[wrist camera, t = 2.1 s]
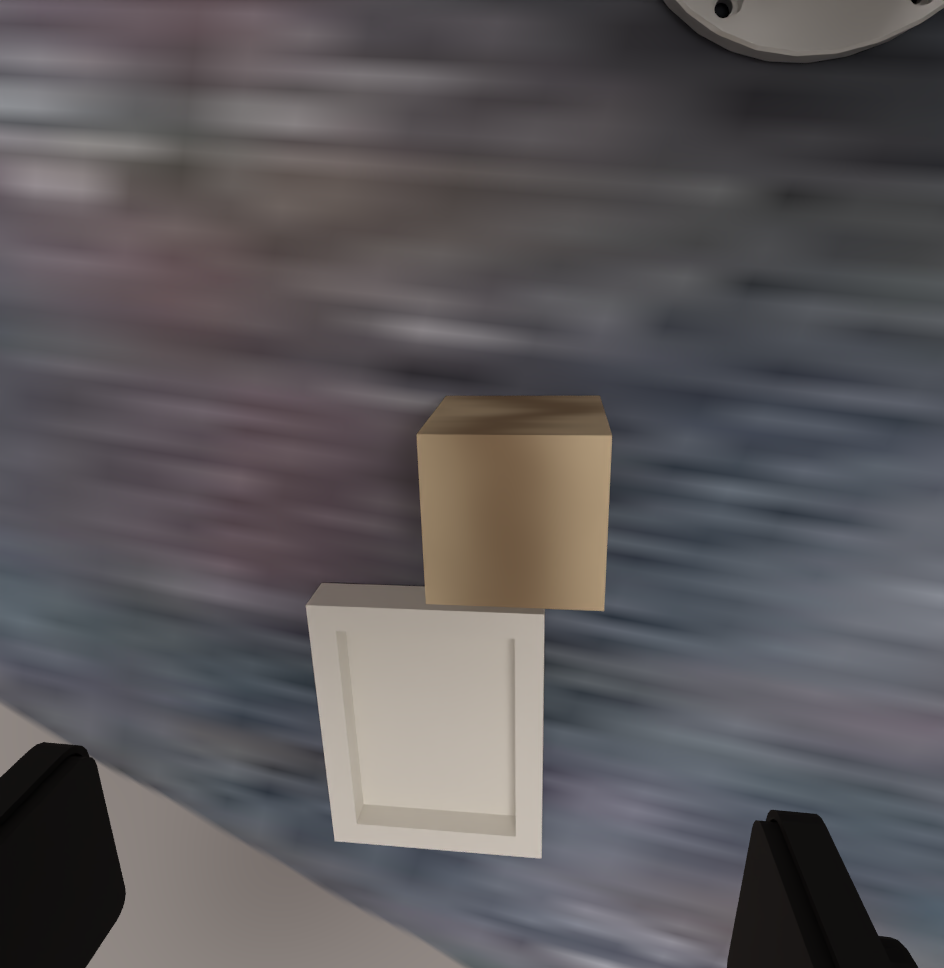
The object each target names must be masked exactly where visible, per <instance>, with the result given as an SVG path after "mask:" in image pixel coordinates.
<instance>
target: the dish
mask: <svg viewBox="0 0 944 968" xmlns="http://www.w3.org/2000/svg"><path fill="white" fill-rule="evenodd" d="M306 611H307V619H308V627H309V635H310V644H311V652H312V660H313V668H314V676H315V684H316V692H317V700H318V708H319V717H320V725H321V733H322V741H323V749H324V757H325V765H326V773H327V781H328V790H329V798H330V806H331V814H332V822H333V830H334V838H335V841H340V842H352V843H363V844H375V845H387V846H399V847H411V848H423V849H435V850H447V851H458V852H470V853H482V854H494V855H506V856H518V857H530V858H541V855H542V801H543V721H544V642H545V609H540V608H514V607H488V606H462V605H436V604H426V597H425V586H398V585H369V584H341V583H321V584H320V586H319V587H318V589H317V590H316V591H315V593H314V594H313V596H312V597H311V599H310V600H309V601H308V603H307V604H306Z"/></svg>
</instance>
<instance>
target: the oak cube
mask: <svg viewBox="0 0 944 968" xmlns="http://www.w3.org/2000/svg"><path fill="white" fill-rule="evenodd" d="M416 435H417V453H418V471H419V489H420V507H421V525H422V543H423V561H424V579H425V597H426V604H436V605H462V606H488V607H514V608H540V609H567V610H593V611H604V601H605V579H606V557H607V535H608V514H609V492H610V470H611V449H612V434H611V430H610V427H609V424H608V421H607V418H606V414H605V411H604V408H603V405H602V401H601V398H600V396H446V397H445V398H444V399H443V401H442V402H441V403H440V405H439V406H438V407H437V408H436V410H435V411H434V412H433V414H432V415H431V416H430V417H429V419H428V420H427V421H426V423H425V424H424V425H423V427H422V428H421V429H420V430H419V432H418V433H417V434H416Z"/></svg>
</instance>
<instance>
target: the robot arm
mask: <svg viewBox="0 0 944 968" xmlns="http://www.w3.org/2000/svg"><path fill="white" fill-rule="evenodd" d="M663 1H664V2H665V3H666V5H667V6H668V8H669V9H671V10H672V11H673V12H674V13H675V14H676V15H677V16H678V17H680V18H681V19H682V20H683V21H684V22H685V23H686V24H687V25H689V26H690V27H691V28H692V29H693V30H694V31H695V32H697V33H698V34H700V35H701V36H703V37H705V38H707V39H709V40H711V41H712V42H714V43H716V44H718V45H720V46H722V47H724V48H725V49H727V50H729V51H731V52H735V53H738V54H742V55H746V56H749V57H753V58H757V59H760V60H764V61H770V62H792V63H810V62H817V61H823V60H829V59H835V58H841V57H847V56H850V55H853V54H855V53H858V52H861V51H864V50H866V49H869V48H872V47H875V46H877V45H880V44H883V43H886V42H888V41H890V40H892V39H894V38H895V37H897V36H899V35H901V34H902V33H904V32H906V31H908V30H909V29H911V28H913V27H915V26H917V25H918V24H920V23H922V22H924V21H925V20H927V19H928V18H930V17H931V16H933V15H934V14H936V13H937V12H938V11H940V10H941V9H943V8H944V0H917V1H916V4H913V2H912V1H911V0H663ZM719 3H724V4H726V5H727V6H728V8H729V15H728V17H726V18H719V17H718V16H717V15H716V14H715V10H714V8H715V5H716V4H719ZM125 895H126V893H125V885H124V881H123V877H122V872H121V868H120V863H119V859H118V855H117V851H116V846H115V842H114V838H113V833H112V829H111V825H110V821H109V816H108V812H107V807H106V803H105V799H104V794H103V790H102V786H101V782H100V777H99V773H98V768H97V764H96V762H95V760H94V759H93V758H92V757H89V754H88V752H87V750H86V749H85V748H84V747H83V746H78V745H68V744H57V743H46V742H43V743H40V744H37V745H36V746H34V747H33V748H32V749H30V750H29V751H28V752H27V753H26V754H25V755H24V756H23V757H22V758H20V759H19V760H18V761H17V762H16V763H15V764H14V765H13V766H12V767H11V768H10V769H9V770H8V771H7V772H6V773H5V774H3V775H2V776H1V777H0V968H85V967H86V966H87V965H88V963H89V962H90V960H91V959H92V957H93V956H94V954H95V952H96V951H97V950H98V948H99V947H100V945H101V943H102V942H103V940H104V939H105V937H106V936H107V934H108V933H109V931H110V930H111V928H112V927H113V925H114V924H115V922H116V921H117V919H118V917H119V915H120V913H121V910H122V908H123V905H124V901H125ZM727 968H918V966H917V965H916V963H915V961H914V960H913V958H912V956H911V955H910V953H909V951H908V950H907V949H906V948H905V947H904V946H903V945H902V944H901V943H900V942H899V941H898V940H896V939H893V938H891V937H883V936H878V934H877V932H876V930H875V928H874V926H873V924H872V922H871V920H870V918H869V915H868V913H867V911H866V909H865V907H864V905H863V903H862V901H861V899H860V897H859V894H858V892H857V890H856V888H855V886H854V884H853V882H852V880H851V878H850V876H849V873H848V871H847V869H846V867H845V865H844V863H843V861H842V859H841V857H840V855H839V852H838V850H837V848H836V846H835V844H834V842H833V840H832V838H831V836H830V834H829V831H828V829H827V827H826V825H825V823H824V822H823V820H822V818H821V817H820V816H818V815H817V814H811V813H800V812H790V811H779V810H770V812H769V813H768V815H767V819H766V821H757V820H756V821H755V822H754V824H753V827H752V832H751V837H750V843H749V848H748V853H747V859H746V864H745V870H744V875H743V880H742V886H741V891H740V896H739V902H738V907H737V912H736V918H735V923H734V928H733V934H732V939H731V945H730V950H729V955H728V962H727Z"/></svg>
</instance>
